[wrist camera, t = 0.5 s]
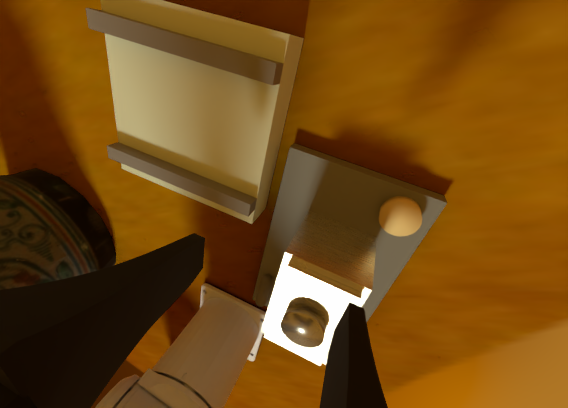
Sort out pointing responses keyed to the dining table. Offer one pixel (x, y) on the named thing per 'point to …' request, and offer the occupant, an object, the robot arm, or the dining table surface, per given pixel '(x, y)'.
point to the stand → (198, 100)
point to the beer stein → (48, 231)
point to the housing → (318, 285)
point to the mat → (348, 215)
